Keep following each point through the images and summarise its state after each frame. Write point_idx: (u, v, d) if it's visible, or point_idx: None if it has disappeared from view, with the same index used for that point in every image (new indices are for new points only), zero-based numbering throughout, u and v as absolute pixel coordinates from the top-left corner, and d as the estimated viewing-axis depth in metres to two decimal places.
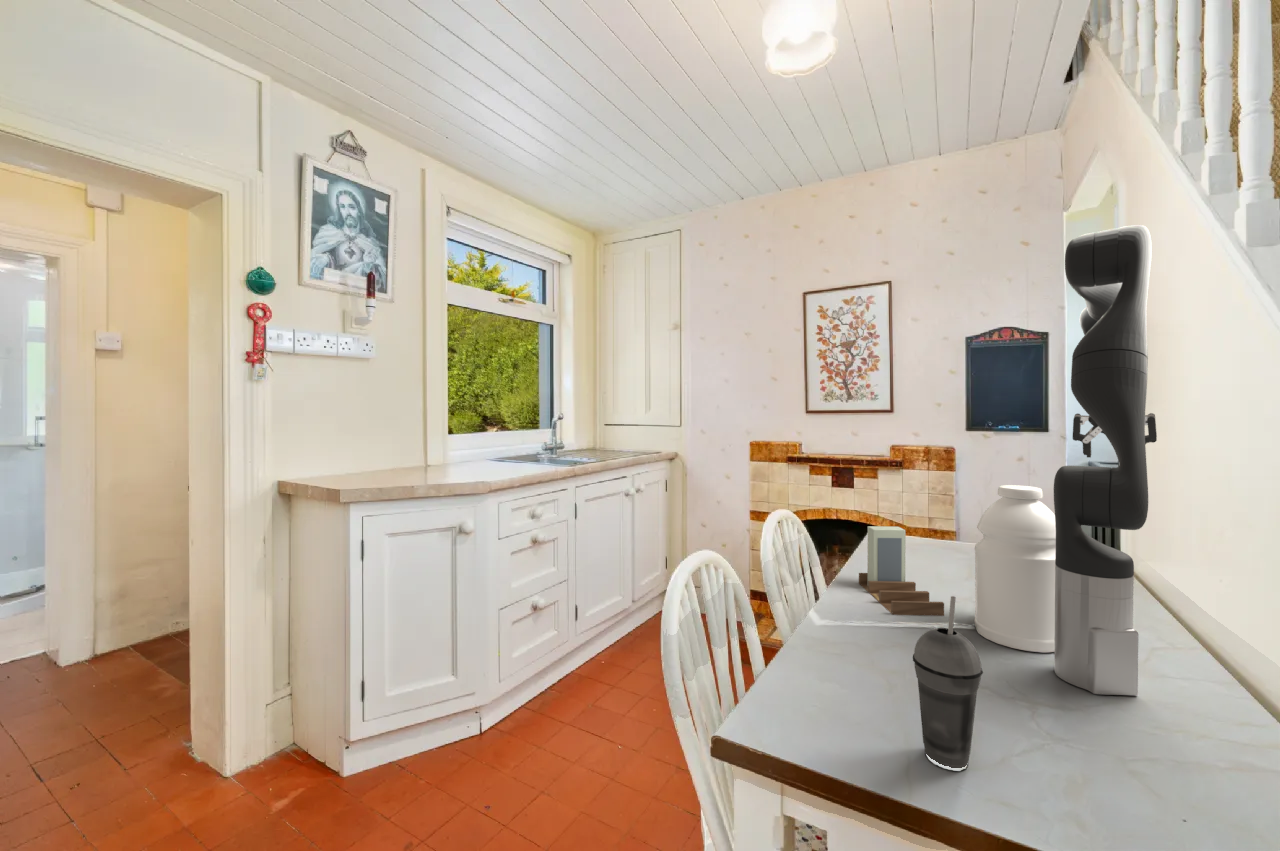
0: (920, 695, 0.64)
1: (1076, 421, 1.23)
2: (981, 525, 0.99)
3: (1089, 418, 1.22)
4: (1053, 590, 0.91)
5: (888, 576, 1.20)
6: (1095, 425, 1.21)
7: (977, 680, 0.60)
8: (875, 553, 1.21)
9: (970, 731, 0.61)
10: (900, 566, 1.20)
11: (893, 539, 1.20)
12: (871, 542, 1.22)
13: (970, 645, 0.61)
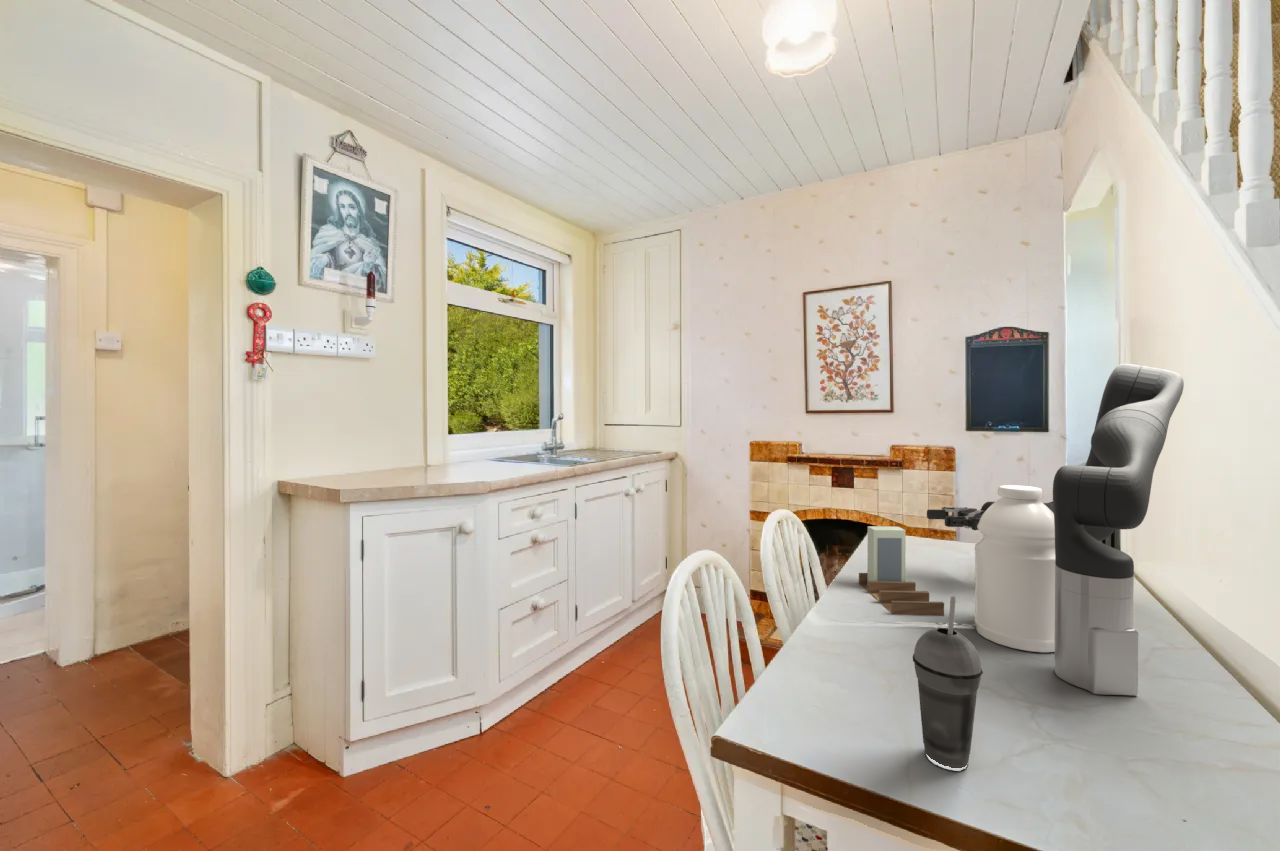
0: (920, 695, 0.64)
1: None
2: (981, 525, 0.99)
3: None
4: (1053, 590, 0.91)
5: (888, 576, 1.20)
6: None
7: (977, 680, 0.60)
8: (875, 553, 1.21)
9: (970, 731, 0.61)
10: (900, 566, 1.20)
11: (893, 539, 1.20)
12: (871, 542, 1.22)
13: (970, 645, 0.61)
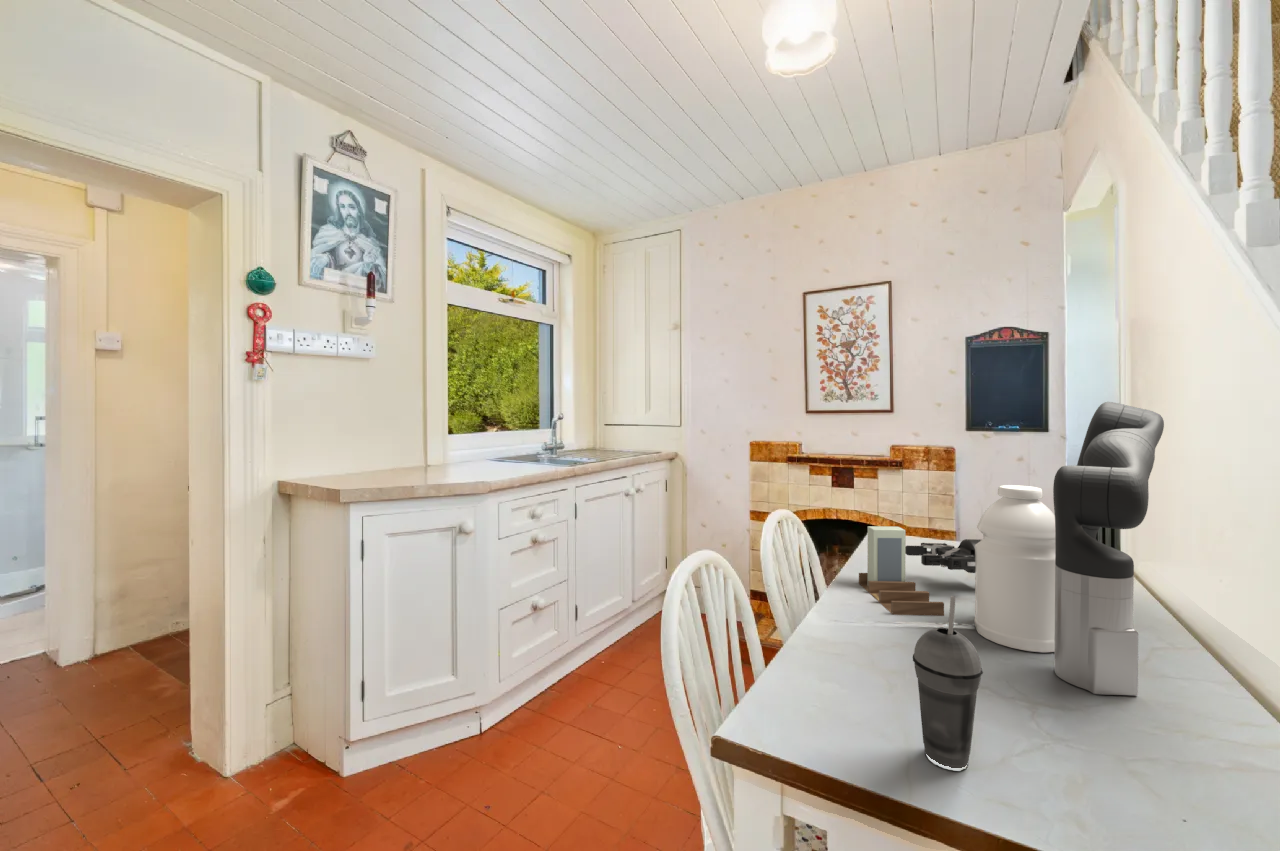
0: (920, 695, 0.64)
1: None
2: (981, 525, 0.99)
3: None
4: (1053, 590, 0.91)
5: (888, 576, 1.20)
6: None
7: (977, 680, 0.60)
8: (875, 553, 1.21)
9: (970, 731, 0.61)
10: (900, 566, 1.20)
11: (893, 539, 1.20)
12: (871, 542, 1.22)
13: (970, 645, 0.61)
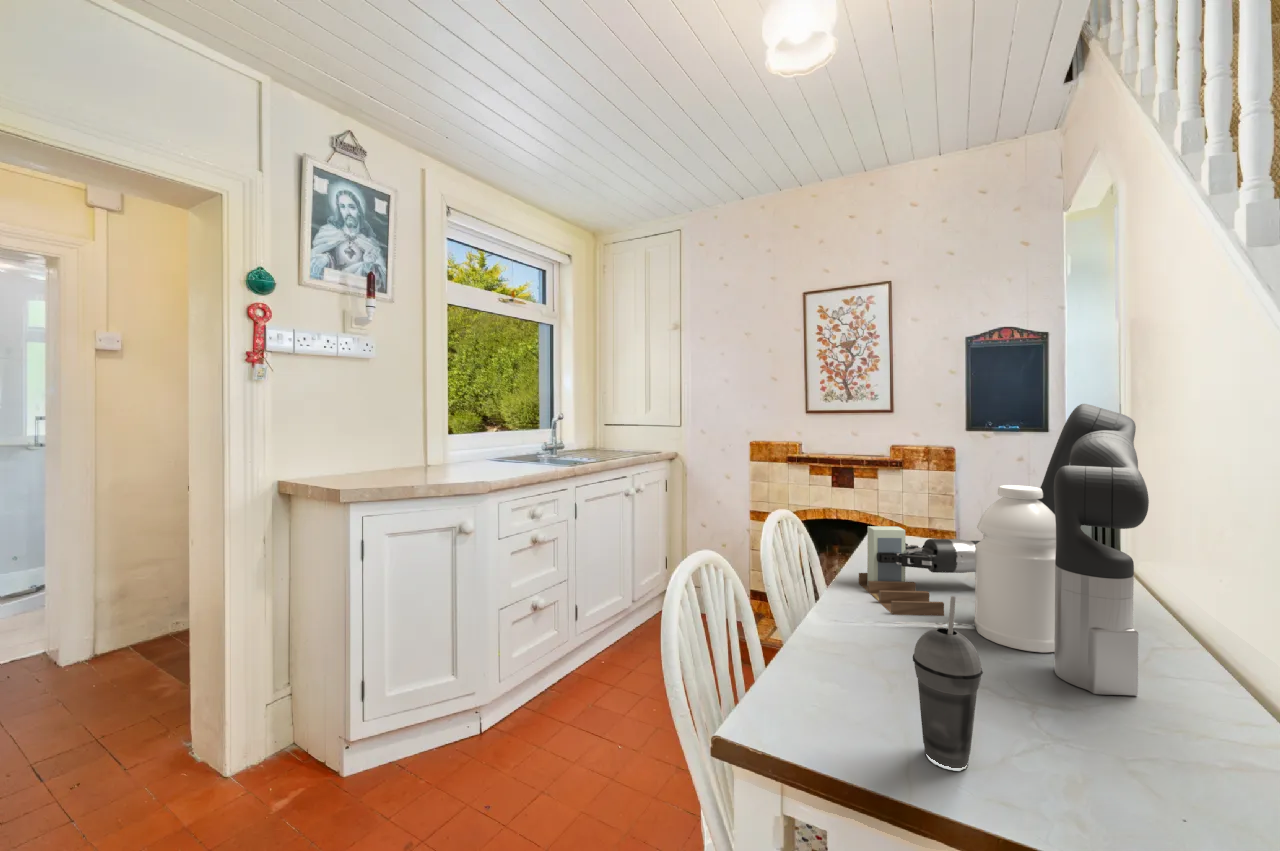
0: (920, 695, 0.64)
1: None
2: (981, 525, 0.99)
3: None
4: (1053, 590, 0.91)
5: (888, 576, 1.20)
6: None
7: (977, 680, 0.60)
8: (875, 553, 1.21)
9: (970, 731, 0.61)
10: (900, 566, 1.20)
11: (893, 539, 1.20)
12: (871, 542, 1.22)
13: (970, 645, 0.61)
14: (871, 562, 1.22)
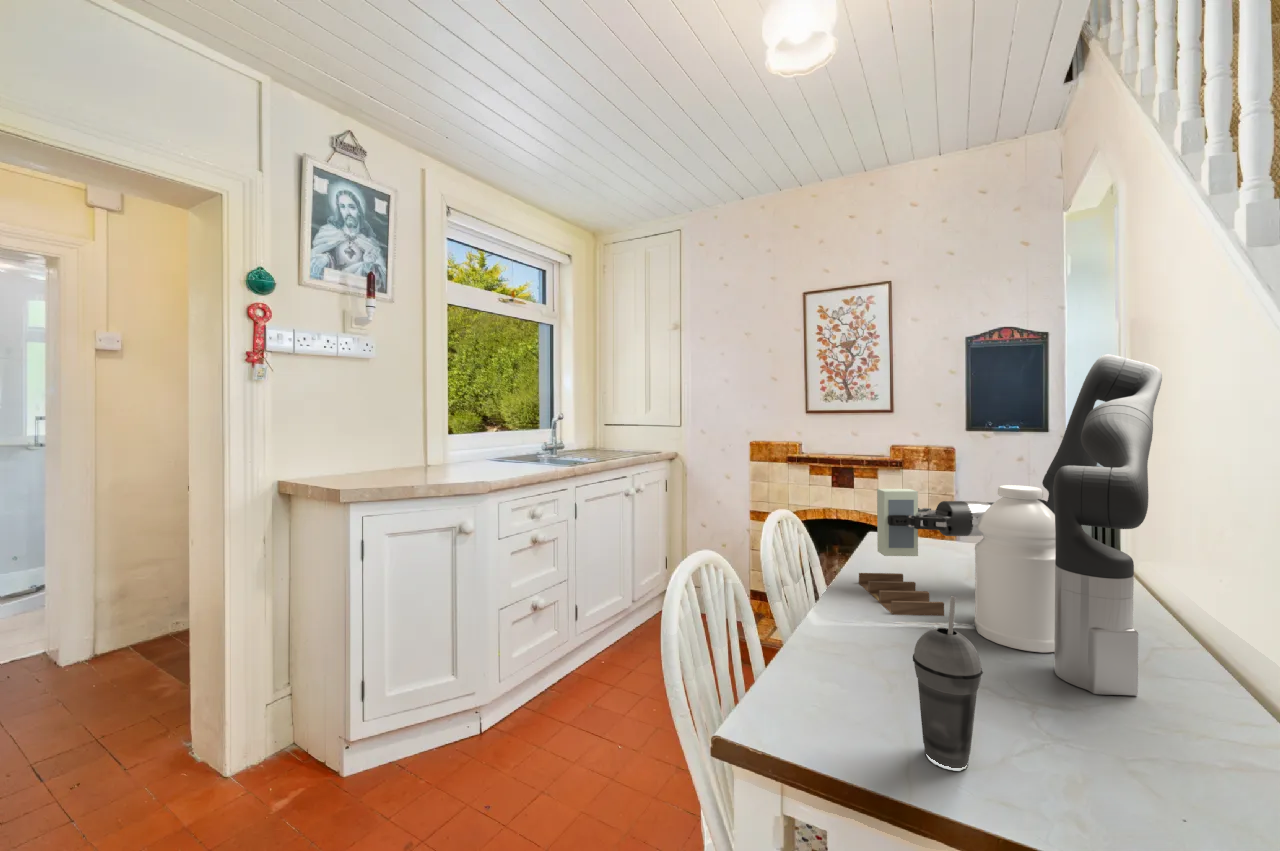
0: (920, 695, 0.64)
1: None
2: (981, 525, 0.99)
3: None
4: (1053, 590, 0.91)
5: (899, 540, 1.14)
6: None
7: (977, 680, 0.60)
8: (885, 516, 1.14)
9: (970, 731, 0.61)
10: (912, 530, 1.14)
11: (905, 501, 1.14)
12: (881, 505, 1.15)
13: (970, 645, 0.61)
14: (881, 526, 1.15)
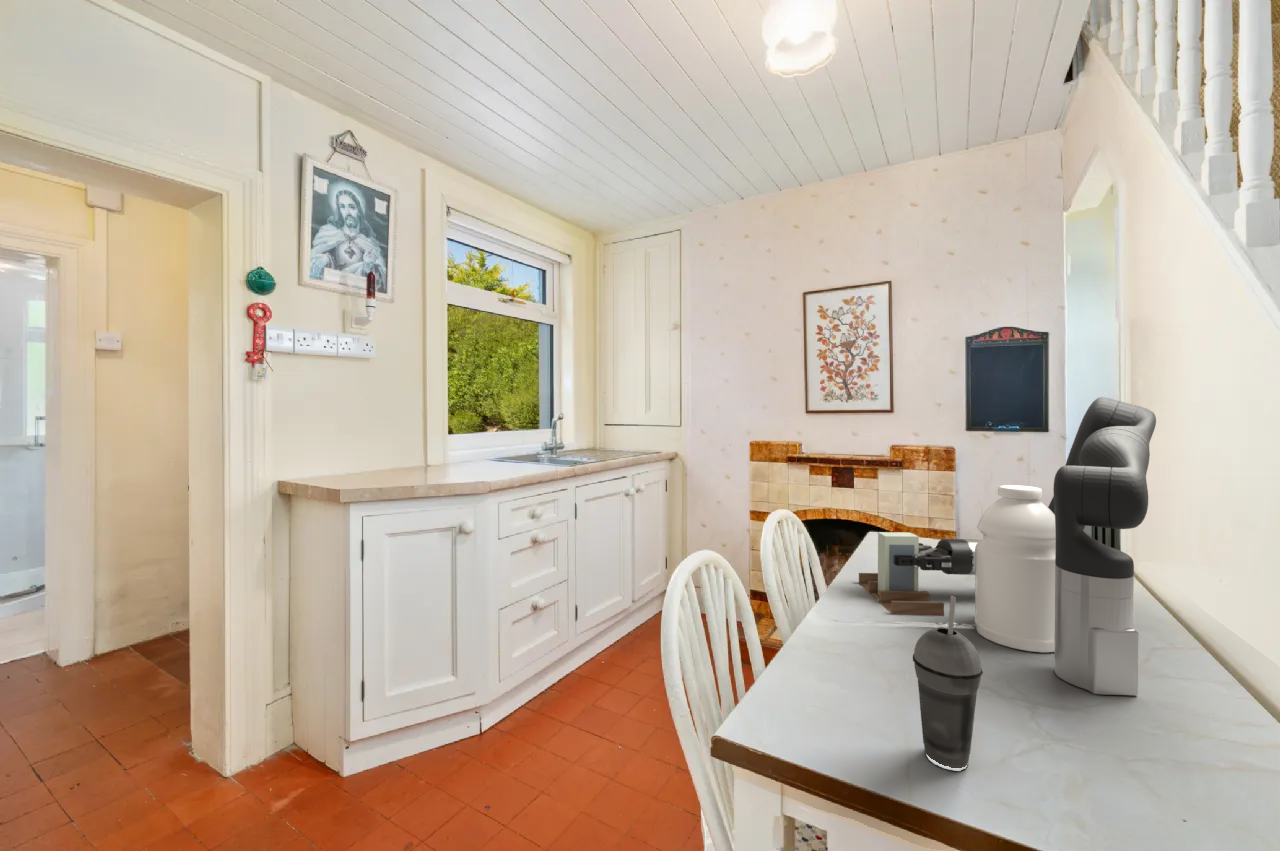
0: (920, 695, 0.64)
1: None
2: (981, 525, 0.99)
3: None
4: (1053, 590, 0.91)
5: (900, 585, 1.14)
6: None
7: (977, 680, 0.60)
8: (886, 561, 1.14)
9: (970, 731, 0.61)
10: (913, 575, 1.14)
11: (906, 546, 1.14)
12: (882, 549, 1.16)
13: (970, 645, 0.61)
14: (882, 570, 1.16)
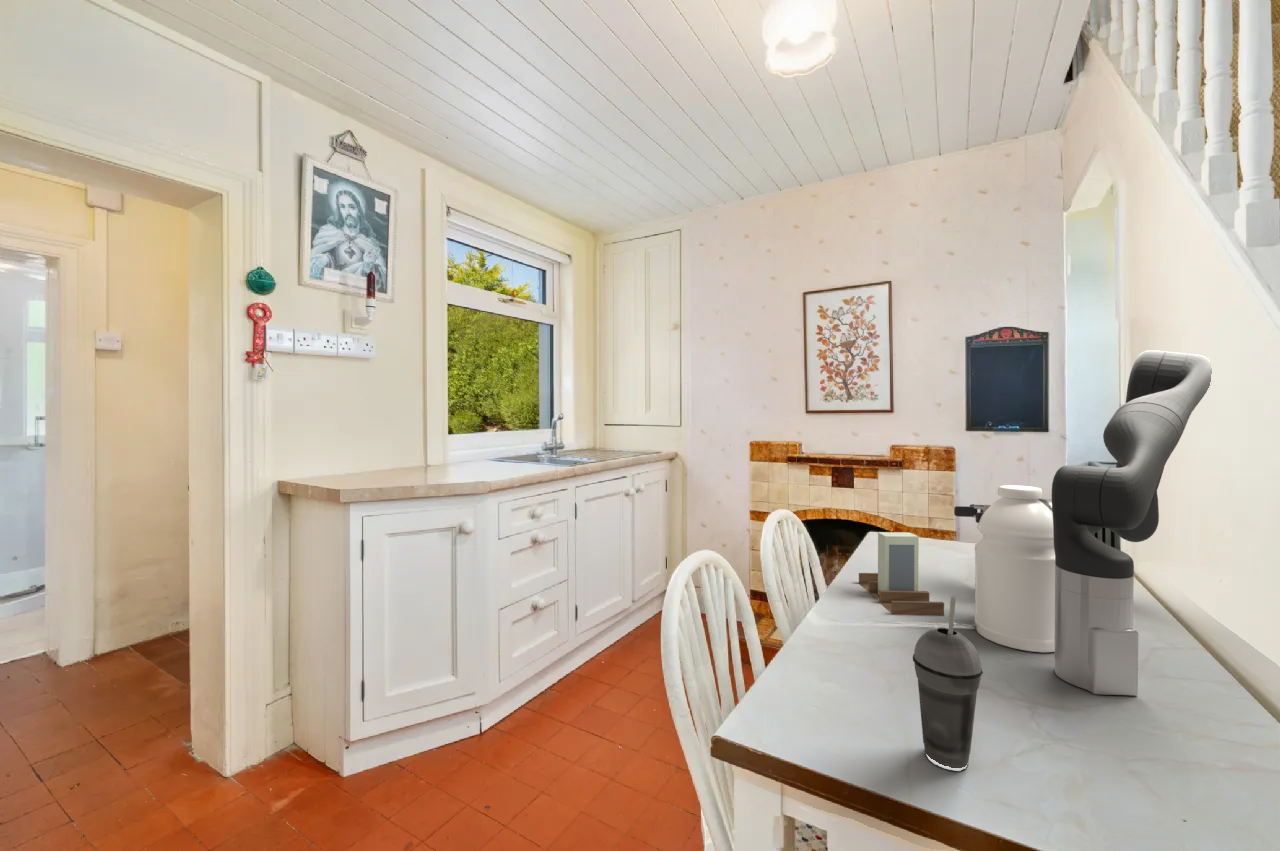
0: (920, 695, 0.64)
1: None
2: (981, 525, 0.99)
3: None
4: (1053, 590, 0.91)
5: (900, 585, 1.14)
6: None
7: (977, 680, 0.60)
8: (886, 561, 1.14)
9: (970, 731, 0.61)
10: (913, 575, 1.14)
11: (906, 546, 1.14)
12: (882, 549, 1.16)
13: (970, 645, 0.61)
14: (882, 570, 1.16)
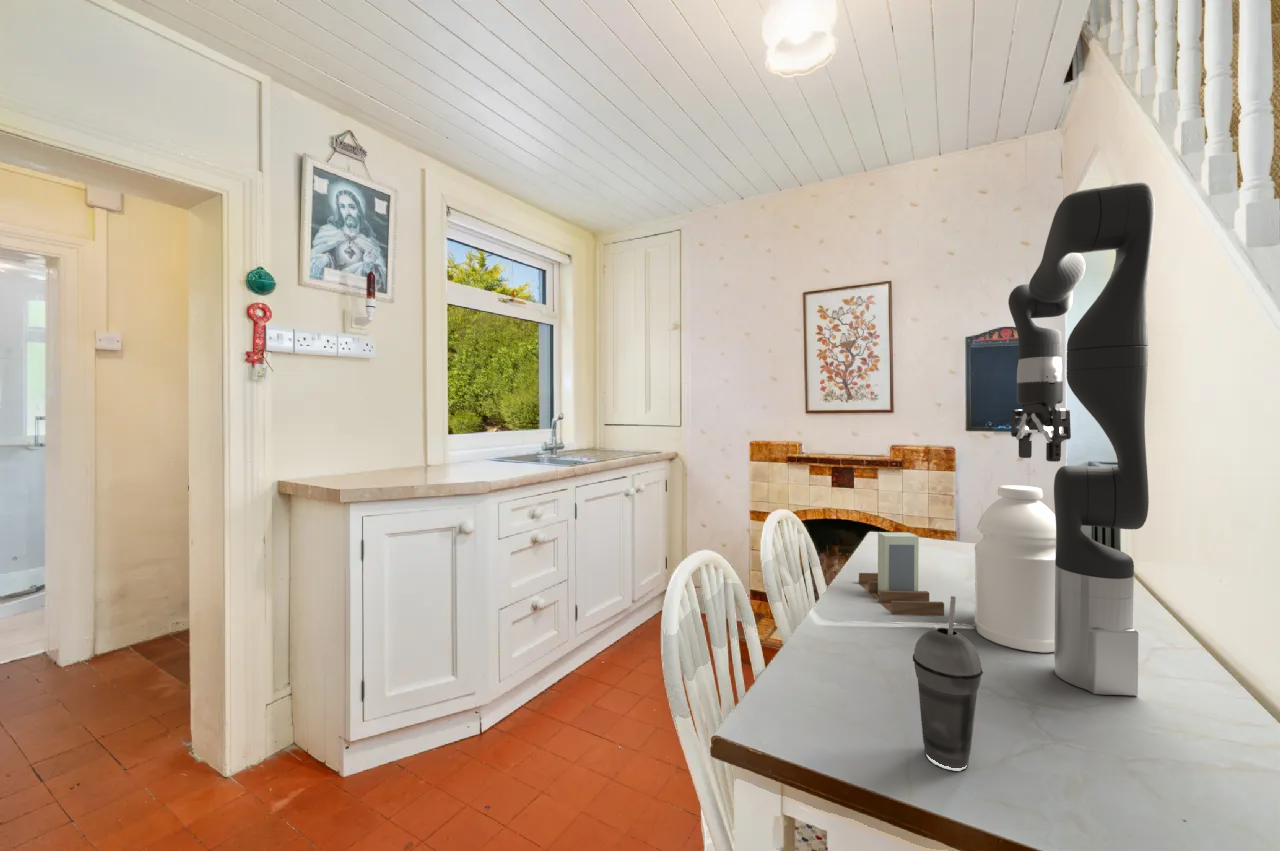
0: (920, 695, 0.64)
1: (1013, 414, 1.15)
2: (981, 525, 0.99)
3: None
4: (1053, 590, 0.91)
5: (900, 585, 1.14)
6: None
7: (977, 680, 0.60)
8: (886, 561, 1.14)
9: (970, 731, 0.61)
10: (913, 575, 1.14)
11: (906, 546, 1.14)
12: (882, 549, 1.16)
13: (970, 645, 0.61)
14: (882, 570, 1.16)
